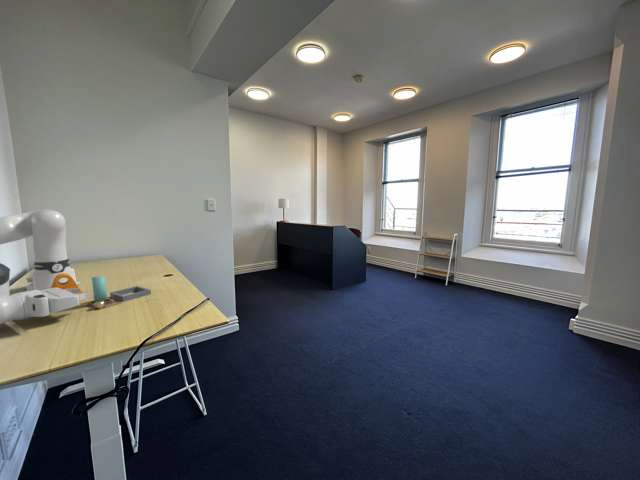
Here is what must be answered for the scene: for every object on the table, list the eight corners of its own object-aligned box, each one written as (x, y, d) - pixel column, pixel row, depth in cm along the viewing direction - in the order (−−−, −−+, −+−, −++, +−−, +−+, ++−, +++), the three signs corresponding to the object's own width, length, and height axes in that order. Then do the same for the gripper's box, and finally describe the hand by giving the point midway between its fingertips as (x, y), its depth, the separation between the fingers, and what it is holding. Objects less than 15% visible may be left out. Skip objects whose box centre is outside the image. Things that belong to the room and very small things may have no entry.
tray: (110, 299, 113) (110, 292, 112) (138, 292, 122) (137, 285, 122) (123, 304, 107) (123, 296, 107) (151, 296, 117) (150, 289, 117)
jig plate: (79, 306, 105) (79, 301, 104) (106, 299, 112) (105, 295, 112) (95, 313, 98) (95, 308, 98) (122, 305, 106) (122, 300, 106)
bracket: (47, 307, 104) (44, 278, 102) (47, 303, 108) (44, 275, 107) (83, 301, 111) (80, 274, 110) (82, 297, 116) (79, 271, 115)
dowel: (92, 304, 104) (89, 277, 103) (104, 301, 108) (102, 275, 106) (97, 305, 102) (94, 279, 101) (109, 302, 106) (106, 276, 105)
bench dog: (93, 308, 100) (92, 302, 99) (102, 306, 102) (102, 300, 102) (97, 310, 98) (96, 303, 98) (106, 307, 101) (105, 301, 101)
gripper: (23, 306, 93) (73, 295, 105) (44, 318, 83) (97, 304, 95) (21, 289, 92) (72, 280, 104) (42, 299, 83) (95, 287, 95)
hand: (84, 291), depth 100 cm, fingers open, 8 cm apart
